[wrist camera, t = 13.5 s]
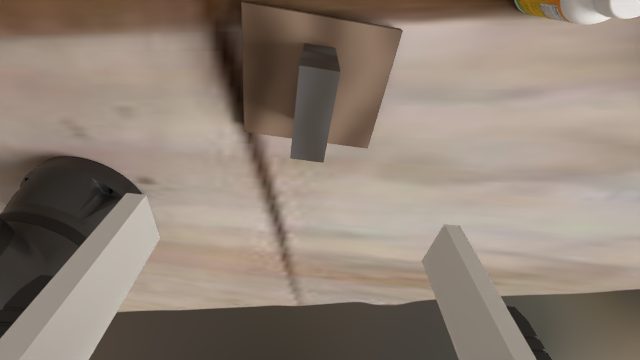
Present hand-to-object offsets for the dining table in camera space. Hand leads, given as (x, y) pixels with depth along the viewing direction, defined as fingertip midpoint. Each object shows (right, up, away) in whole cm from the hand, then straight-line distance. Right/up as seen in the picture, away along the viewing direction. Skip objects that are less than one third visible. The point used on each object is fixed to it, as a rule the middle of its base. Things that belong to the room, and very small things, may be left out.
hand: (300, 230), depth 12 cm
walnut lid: (0, +13, +17) cm, 21 cm away
